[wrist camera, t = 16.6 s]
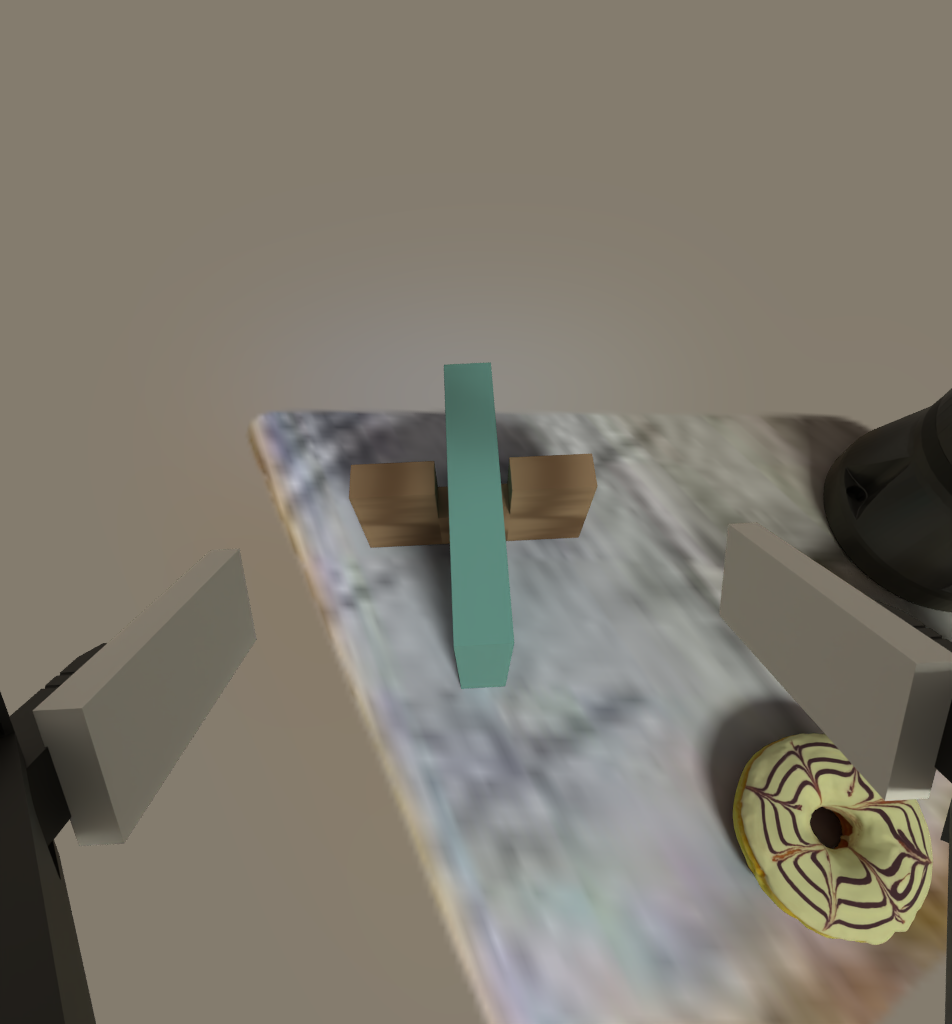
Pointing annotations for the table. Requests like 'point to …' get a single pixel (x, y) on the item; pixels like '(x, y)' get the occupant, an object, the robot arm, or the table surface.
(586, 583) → the table surface
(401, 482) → the walnut slotted plate
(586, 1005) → the table surface
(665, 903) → the table surface
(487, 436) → the teal upright panel
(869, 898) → the decorated donut
